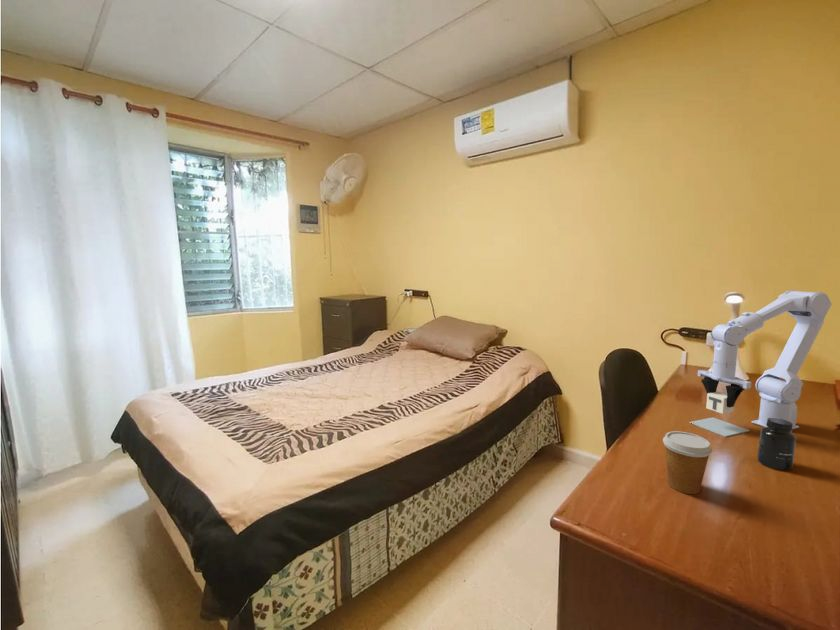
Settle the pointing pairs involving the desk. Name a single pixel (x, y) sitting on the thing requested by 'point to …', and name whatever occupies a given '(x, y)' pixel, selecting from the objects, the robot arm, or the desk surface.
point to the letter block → (718, 402)
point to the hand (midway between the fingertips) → (720, 403)
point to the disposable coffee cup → (686, 460)
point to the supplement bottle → (777, 444)
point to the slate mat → (719, 427)
